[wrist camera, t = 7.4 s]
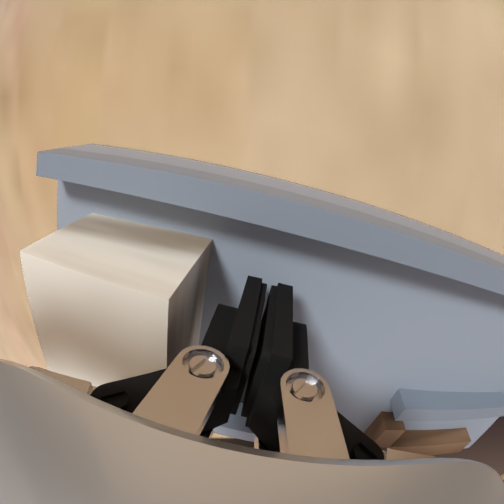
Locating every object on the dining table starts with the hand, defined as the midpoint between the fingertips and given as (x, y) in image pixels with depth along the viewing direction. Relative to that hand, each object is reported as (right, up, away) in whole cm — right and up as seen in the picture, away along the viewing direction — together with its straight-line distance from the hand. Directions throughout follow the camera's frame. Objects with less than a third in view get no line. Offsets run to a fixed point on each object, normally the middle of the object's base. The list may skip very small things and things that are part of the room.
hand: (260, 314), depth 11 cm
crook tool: (+11, -10, +4) cm, 15 cm away
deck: (+5, -3, +4) cm, 7 cm away
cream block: (-5, +1, +1) cm, 5 cm away
